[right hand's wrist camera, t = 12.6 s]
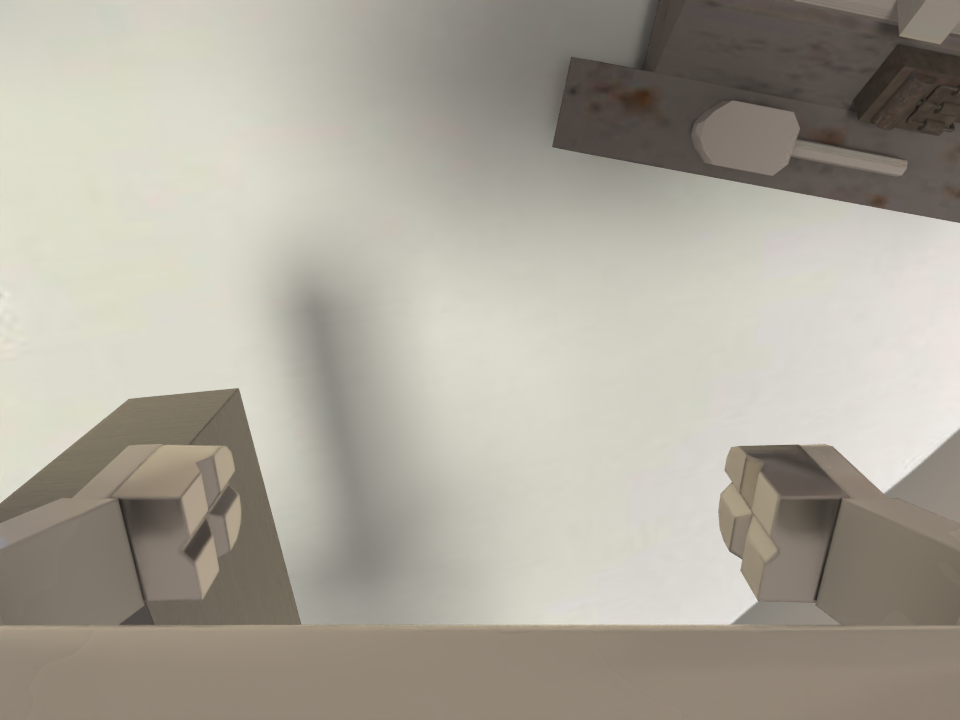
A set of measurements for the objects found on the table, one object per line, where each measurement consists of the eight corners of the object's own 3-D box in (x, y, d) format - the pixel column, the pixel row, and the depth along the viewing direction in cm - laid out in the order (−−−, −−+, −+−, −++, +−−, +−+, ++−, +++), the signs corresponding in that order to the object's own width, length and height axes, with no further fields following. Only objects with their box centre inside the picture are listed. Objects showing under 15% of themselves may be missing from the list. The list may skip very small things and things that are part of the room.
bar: (128, 398, 25) (-50, 543, 16) (239, 387, 25) (117, 527, 16) (267, 811, 34) (198, 1044, 25) (349, 805, 33) (307, 1036, 25)
